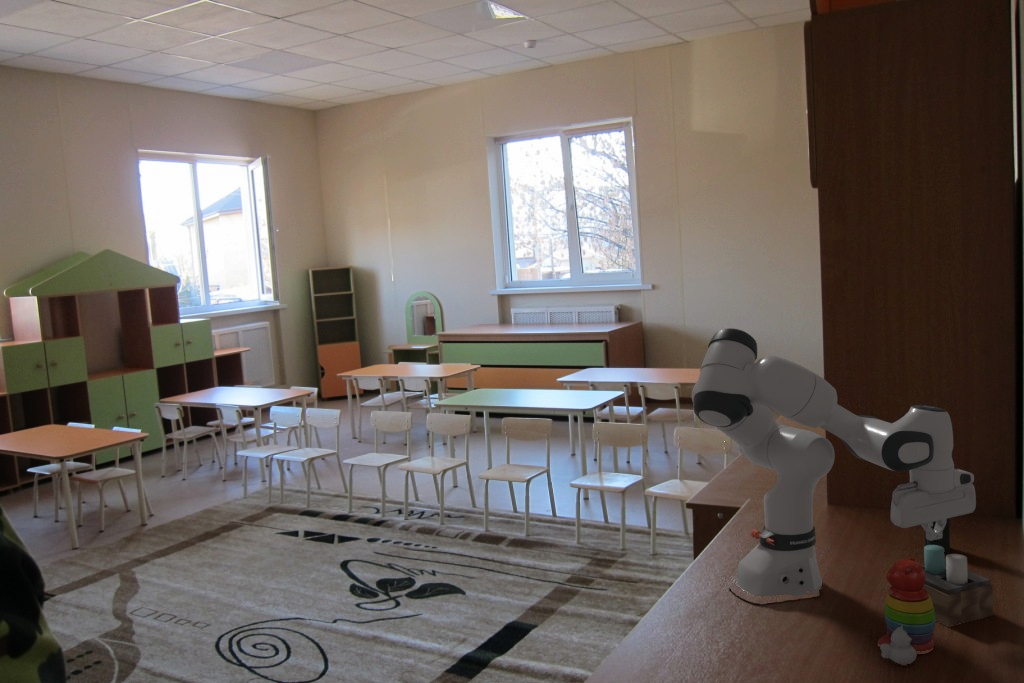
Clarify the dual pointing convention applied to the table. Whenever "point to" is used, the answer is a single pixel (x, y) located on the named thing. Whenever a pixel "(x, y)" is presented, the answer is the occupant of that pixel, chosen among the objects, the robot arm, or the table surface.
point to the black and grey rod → (944, 540)
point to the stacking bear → (909, 605)
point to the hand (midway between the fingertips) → (934, 538)
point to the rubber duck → (899, 647)
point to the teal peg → (934, 559)
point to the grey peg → (956, 569)
